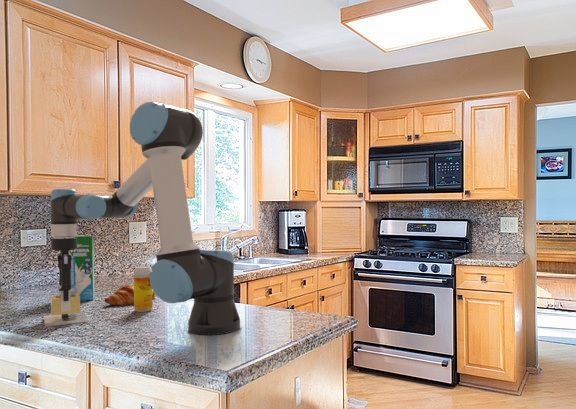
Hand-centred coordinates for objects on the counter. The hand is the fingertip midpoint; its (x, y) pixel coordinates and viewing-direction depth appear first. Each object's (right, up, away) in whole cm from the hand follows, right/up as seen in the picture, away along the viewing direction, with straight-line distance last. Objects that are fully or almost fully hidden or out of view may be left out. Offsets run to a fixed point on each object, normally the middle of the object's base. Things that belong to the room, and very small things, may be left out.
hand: (65, 308), depth 153 cm
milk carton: (-10, -4, +35) cm, 36 cm away
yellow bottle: (+21, -4, +13) cm, 25 cm away
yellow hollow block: (0, -1, 0) cm, 1 cm away
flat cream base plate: (0, -4, 0) cm, 4 cm away
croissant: (+13, -4, +27) cm, 31 cm away
